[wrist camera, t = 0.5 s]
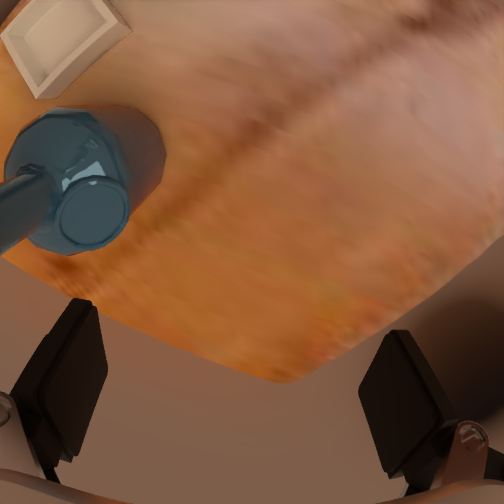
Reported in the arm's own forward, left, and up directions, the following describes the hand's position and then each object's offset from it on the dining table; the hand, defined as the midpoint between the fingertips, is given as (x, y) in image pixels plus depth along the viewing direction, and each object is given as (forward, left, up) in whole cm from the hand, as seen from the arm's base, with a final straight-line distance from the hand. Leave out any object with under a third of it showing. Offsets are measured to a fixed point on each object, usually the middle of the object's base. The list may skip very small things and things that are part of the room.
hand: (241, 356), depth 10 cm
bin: (+7, -29, -31) cm, 43 cm away
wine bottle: (+11, -10, -31) cm, 34 cm away
